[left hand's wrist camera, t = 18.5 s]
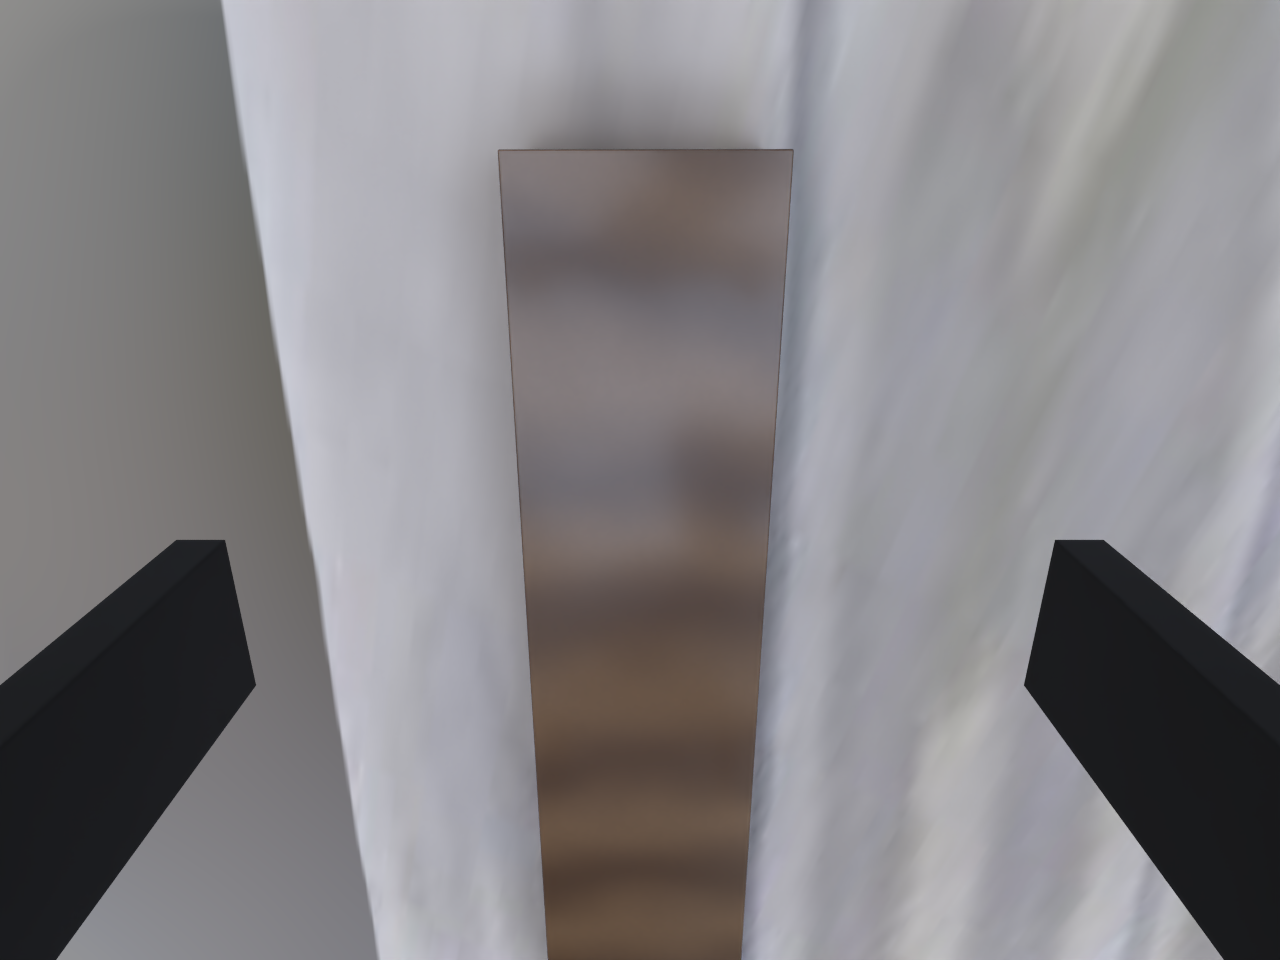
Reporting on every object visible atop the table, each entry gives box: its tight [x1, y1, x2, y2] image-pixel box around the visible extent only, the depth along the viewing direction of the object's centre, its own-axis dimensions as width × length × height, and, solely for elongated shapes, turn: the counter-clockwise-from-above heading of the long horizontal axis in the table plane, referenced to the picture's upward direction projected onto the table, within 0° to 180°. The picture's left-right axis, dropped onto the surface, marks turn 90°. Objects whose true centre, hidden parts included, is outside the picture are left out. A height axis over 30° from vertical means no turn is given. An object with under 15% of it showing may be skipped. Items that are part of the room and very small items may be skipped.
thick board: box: [498, 149, 794, 960], centre depth 41 cm, size 54×10×7 cm, turn 0°
